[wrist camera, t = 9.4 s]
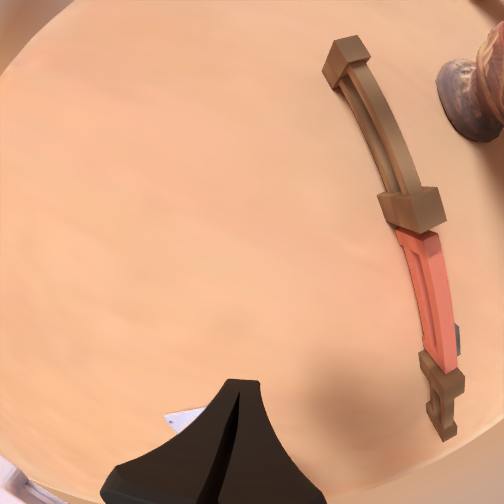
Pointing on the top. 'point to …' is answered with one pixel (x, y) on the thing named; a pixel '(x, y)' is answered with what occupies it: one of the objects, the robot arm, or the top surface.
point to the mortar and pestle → (476, 90)
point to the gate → (431, 294)
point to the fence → (396, 194)
